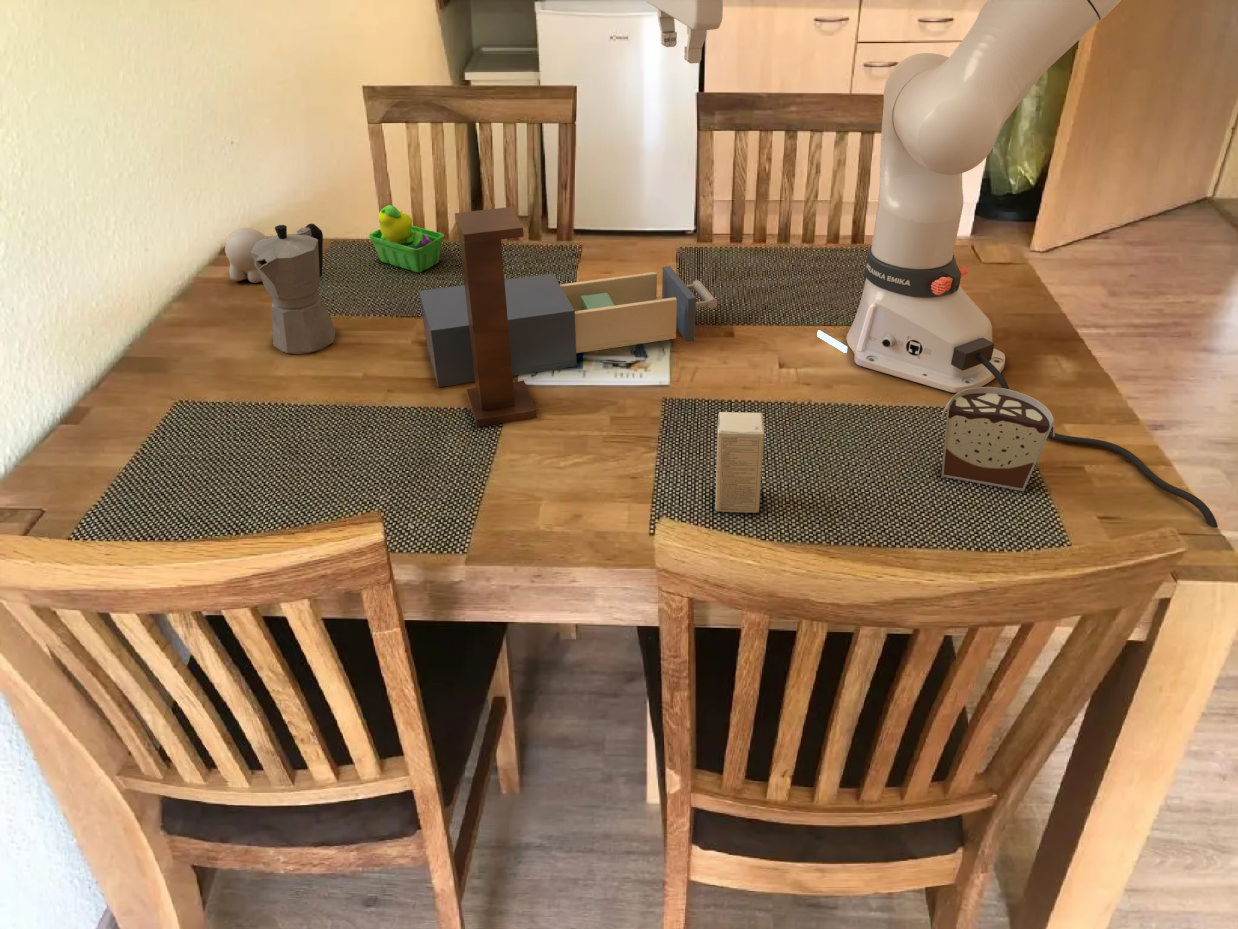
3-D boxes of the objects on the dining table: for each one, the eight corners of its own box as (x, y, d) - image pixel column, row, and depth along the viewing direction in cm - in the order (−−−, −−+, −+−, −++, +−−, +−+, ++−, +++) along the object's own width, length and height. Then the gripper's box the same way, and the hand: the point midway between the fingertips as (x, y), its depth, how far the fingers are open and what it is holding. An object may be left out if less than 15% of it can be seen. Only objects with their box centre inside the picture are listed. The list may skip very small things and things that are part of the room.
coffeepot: (308, 365, 140) (282, 247, 130) (252, 356, 143) (222, 239, 132) (362, 318, 152) (342, 206, 142) (310, 310, 155) (286, 200, 144)
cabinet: (556, 326, 149) (553, 273, 144) (576, 366, 139) (574, 310, 134) (426, 345, 145) (418, 290, 140) (438, 387, 135) (430, 330, 130)
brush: (589, 338, 142) (588, 310, 139) (581, 323, 146) (580, 295, 143) (671, 327, 144) (672, 300, 142) (662, 313, 148) (662, 285, 145)
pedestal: (524, 387, 135) (510, 204, 120) (537, 417, 128) (524, 228, 113) (466, 396, 133) (445, 212, 118) (476, 427, 127) (455, 236, 111)
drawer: (694, 303, 153) (696, 262, 149) (721, 336, 144) (724, 293, 140) (553, 323, 148) (550, 281, 144) (571, 359, 139) (569, 315, 135)
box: (758, 491, 115) (765, 412, 108) (759, 514, 111) (766, 433, 105) (713, 489, 115) (718, 410, 109) (712, 512, 112) (717, 431, 105)
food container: (1037, 464, 119) (1058, 394, 113) (1037, 493, 114) (1059, 421, 108) (932, 446, 122) (947, 377, 116) (928, 474, 117) (943, 403, 111)
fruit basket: (449, 261, 170) (442, 198, 163) (415, 280, 164) (406, 215, 157) (400, 248, 175) (391, 186, 168) (365, 265, 169) (354, 202, 162)
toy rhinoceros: (293, 289, 161) (282, 240, 156) (224, 285, 163) (212, 236, 158) (310, 271, 167) (300, 223, 162) (244, 267, 168) (232, 220, 164)
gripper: (739, -56, 112) (732, 70, 120) (680, -77, 128) (677, 35, 136) (687, -53, 111) (684, 74, 119) (634, -75, 127) (634, 39, 135)
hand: (680, 53), depth 127 cm, fingers open, 8 cm apart
